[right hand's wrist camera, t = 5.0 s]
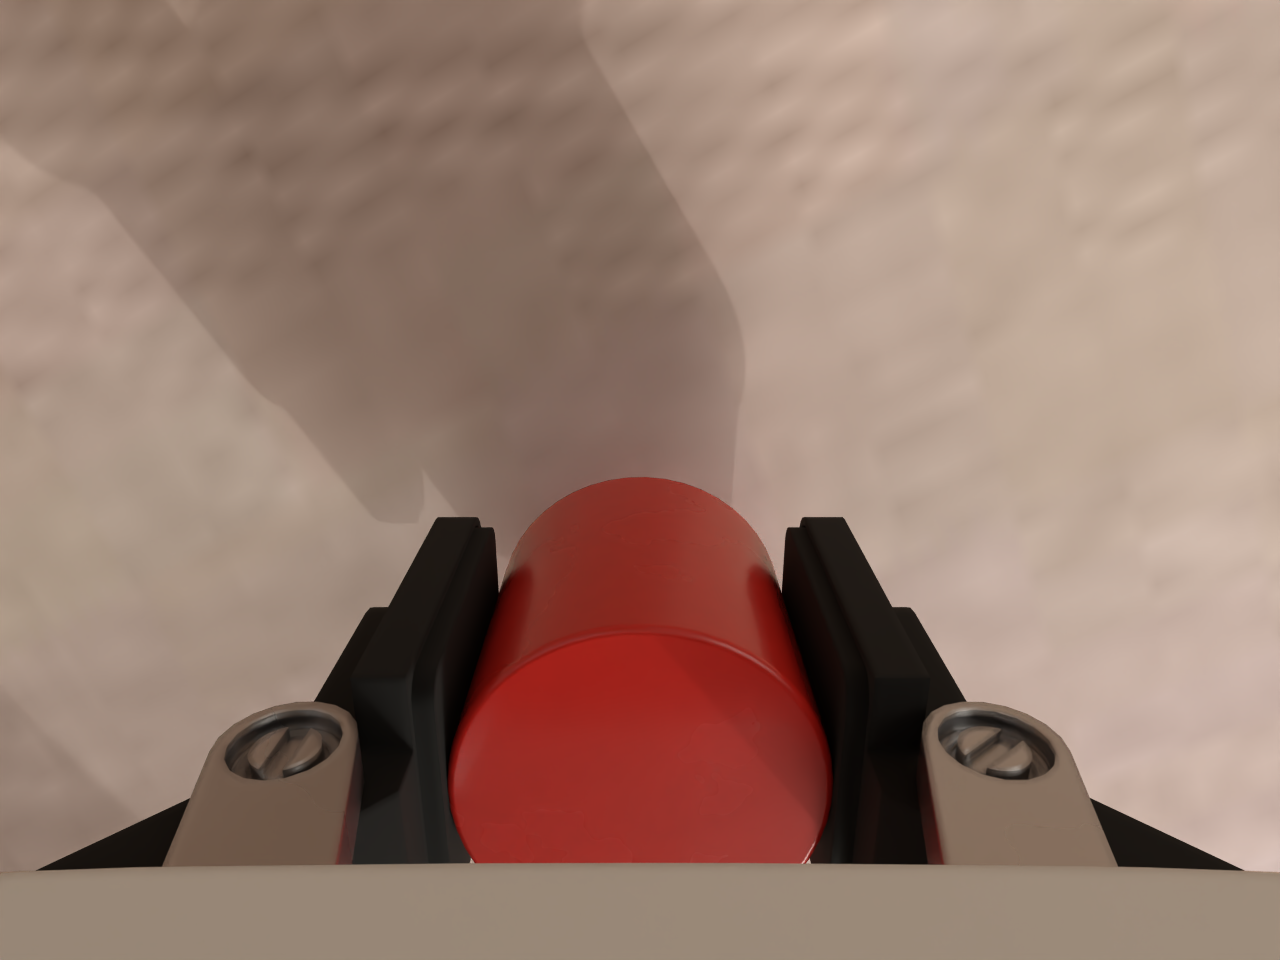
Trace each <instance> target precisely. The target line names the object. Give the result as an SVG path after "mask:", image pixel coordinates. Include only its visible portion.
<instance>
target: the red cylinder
mask: <svg viewBox="0 0 1280 960" xmlns="http://www.w3.org/2000/svg"><path fill="white" fill-rule="evenodd" d="M447 774H448V794H449V803H450V809H451V813H452V816H453V820H454V823H455V826H456V830H457V832H458V834H459V836H460V838H461V840H462V843H463V845H464V847H465V849H466V850H467V852H468V853H469V855H470V856H471V858H472V859H473V861H474V863H789V864H806V862H807V861H808V860H809V858H810V857H811V855H812V853H813V851H814V850H815V848H816V846H817V844H818V843H819V841H820V838H821V836H822V833H823V831H824V828H825V826H826V823H827V820H828V817H829V812H830V807H831V802H832V790H833V761H832V755H831V751H830V747H829V743H828V739H827V736H826V733H825V729H824V726H823V723H822V720H821V717H820V714H819V710H818V707H817V704H816V701H815V698H814V695H813V691H812V688H811V685H810V682H809V679H808V675H807V672H806V669H805V666H804V663H803V660H802V656H801V653H800V650H799V647H798V644H797V641H796V637H795V634H794V631H793V628H792V625H791V622H790V618H789V615H788V612H787V609H786V606H785V603H784V599H783V596H782V593H781V590H780V587H779V584H778V580H777V577H776V574H775V571H774V568H773V564H772V562H771V560H770V557H769V555H768V553H767V550H766V548H765V546H764V545H763V543H762V541H761V540H760V538H759V537H758V535H757V533H756V532H755V531H754V530H753V529H752V527H751V526H750V525H749V524H748V523H747V521H746V520H745V519H744V518H743V517H741V516H740V515H739V514H738V513H737V512H736V511H735V510H734V509H733V508H731V507H730V506H728V505H727V504H725V503H724V502H723V501H721V500H720V499H718V498H717V497H715V496H713V495H711V494H709V493H707V492H705V491H703V490H701V489H698V488H695V487H693V486H690V485H687V484H684V483H680V482H676V481H672V480H667V479H659V478H649V477H632V478H621V479H614V480H608V481H604V482H601V483H597V484H593V485H590V486H588V487H585V488H583V489H580V490H578V491H576V492H573V493H571V494H570V495H568V496H566V497H564V498H563V499H561V500H559V501H558V502H556V503H555V504H554V505H552V506H551V507H550V508H548V509H547V510H546V511H544V512H543V513H542V514H541V515H540V516H539V517H538V518H537V519H536V520H535V521H534V522H533V523H532V524H531V525H530V527H529V528H528V529H527V531H526V532H525V533H524V535H523V536H522V537H521V539H520V540H519V542H518V544H517V546H516V548H515V550H514V551H513V553H512V556H511V559H510V561H509V564H508V567H507V569H506V573H505V576H504V579H503V582H502V585H501V589H500V592H499V595H498V598H497V601H496V605H495V608H494V611H493V614H492V617H491V620H490V624H489V627H488V630H487V633H486V636H485V640H484V643H483V646H482V649H481V652H480V656H479V659H478V662H477V665H476V668H475V672H474V675H473V678H472V681H471V684H470V688H469V691H468V694H467V697H466V700H465V704H464V707H463V710H462V713H461V716H460V720H459V723H458V726H457V729H456V732H455V735H454V739H453V742H452V746H451V751H450V756H449V761H448V769H447Z"/></svg>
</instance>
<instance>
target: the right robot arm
mask: <svg viewBox="0 0 1280 960" xmlns="http://www.w3.org/2000/svg"><path fill="white" fill-rule="evenodd" d="M498 595H499V590H498V574H497V558H496V543H495V533H494V529H493V528H481V525H480V521H479V519H478V518H477V517H438V518H437V519H436V520H435V522H434V524H433V526H432V528H431V529H430V531H429V533H428V535H427V537H426V539H425V540H424V542H423V544H422V546H421V548H420V550H419V551H418V553H417V555H416V557H415V559H414V561H413V563H412V564H411V566H410V568H409V570H408V572H407V574H406V575H405V577H404V579H403V581H402V583H401V585H400V587H399V588H398V590H397V592H396V594H395V596H394V598H393V599H392V601H391V603H390V605H389V607H373V608H370V609H369V610H368V611H367V612H366V613H365V615H364V617H363V618H362V620H361V622H360V624H359V625H358V627H357V629H356V630H355V632H354V634H353V636H352V637H351V639H350V641H349V642H348V644H347V646H346V648H345V649H344V651H343V653H342V654H341V656H340V658H339V660H338V661H337V663H336V665H335V666H334V668H333V670H332V672H331V673H330V675H329V677H328V678H327V680H326V682H325V684H324V685H323V687H322V689H321V690H320V692H319V694H318V696H317V697H316V699H315V701H314V702H295V703H289V704H284V705H279V706H274V707H271V708H268V709H266V710H263V711H260V712H257V713H254V714H252V715H250V716H248V717H247V718H245V719H243V720H241V721H239V722H238V723H236V724H234V725H233V726H232V727H230V728H229V729H228V730H227V731H226V732H225V733H223V734H222V735H221V736H220V737H219V738H218V739H217V741H216V742H215V744H214V745H213V747H212V748H211V750H210V752H209V754H208V756H207V759H206V761H205V764H204V766H203V768H202V771H201V773H200V776H199V778H198V781H197V783H196V785H195V788H194V790H193V793H192V795H191V798H189V799H187V800H185V801H183V802H181V803H179V804H177V805H175V806H172V807H170V808H168V809H166V810H164V811H162V812H160V813H158V814H155V815H153V816H151V817H149V818H147V819H145V820H143V821H140V822H138V823H136V824H134V825H132V826H130V827H128V828H126V829H123V830H121V831H119V832H117V833H115V834H113V835H111V836H109V837H106V838H104V839H102V840H100V841H98V842H96V843H94V844H91V845H89V846H87V847H85V848H83V849H81V850H79V851H77V852H74V853H72V854H70V855H68V856H66V857H64V858H62V859H60V860H57V861H55V862H53V863H51V864H49V865H47V866H45V867H42V868H40V869H38V870H36V871H19V872H0V960H1280V872H1261V871H1244V870H1242V869H1240V868H1238V867H1236V866H1234V865H1232V864H1229V863H1227V862H1225V861H1223V860H1221V859H1219V858H1217V857H1215V856H1212V855H1210V854H1208V853H1206V852H1204V851H1202V850H1200V849H1197V848H1195V847H1193V846H1191V845H1189V844H1187V843H1185V842H1183V841H1180V840H1178V839H1176V838H1174V837H1172V836H1170V835H1168V834H1166V833H1163V832H1161V831H1159V830H1157V829H1155V828H1153V827H1151V826H1149V825H1146V824H1144V823H1142V822H1140V821H1138V820H1136V819H1134V818H1131V817H1129V816H1127V815H1125V814H1123V813H1121V812H1119V811H1117V810H1114V809H1112V808H1110V807H1108V806H1106V805H1104V804H1102V803H1100V802H1097V801H1095V800H1093V799H1091V798H1089V795H1088V793H1087V790H1086V788H1085V785H1084V783H1083V781H1082V778H1081V776H1080V773H1079V771H1078V768H1077V766H1076V764H1075V761H1074V759H1073V756H1072V754H1071V752H1070V750H1069V748H1068V747H1067V745H1066V744H1065V742H1064V741H1063V739H1062V738H1061V737H1060V736H1059V735H1058V734H1057V733H1055V732H1054V731H1053V730H1052V729H1051V728H1050V727H1048V726H1047V725H1046V724H1044V723H1042V722H1041V721H1039V720H1037V719H1035V718H1033V717H1032V716H1030V715H1028V714H1026V713H1023V712H1020V711H1017V710H1014V709H1012V708H1009V707H1006V706H1001V705H996V704H991V703H985V702H966V700H965V698H964V696H963V695H962V693H961V691H960V690H959V688H958V686H957V684H956V683H955V681H954V679H953V678H952V676H951V674H950V672H949V671H948V669H947V667H946V666H945V664H944V662H943V660H942V659H941V657H940V655H939V654H938V652H937V650H936V648H935V647H934V645H933V643H932V642H931V640H930V638H929V636H928V635H927V633H926V631H925V630H924V628H923V626H922V624H921V623H920V621H919V619H918V618H917V616H916V614H915V613H914V611H913V610H912V609H911V608H908V607H892V606H891V604H890V602H889V600H888V598H887V597H886V595H885V593H884V591H883V589H882V587H881V586H880V584H879V582H878V580H877V578H876V576H875V574H874V573H873V571H872V569H871V567H870V565H869V563H868V562H867V560H866V558H865V556H864V554H863V552H862V550H861V549H860V547H859V545H858V543H857V541H856V539H855V538H854V536H853V534H852V532H851V530H850V528H849V526H848V525H847V523H846V521H845V519H844V518H843V517H804V518H802V520H801V523H800V527H789V528H787V531H786V537H785V551H784V567H783V582H782V596H783V599H784V603H785V606H786V609H787V612H788V615H789V618H790V622H791V625H792V628H793V631H794V634H795V637H796V641H797V644H798V647H799V650H800V653H801V656H802V660H803V663H804V666H805V669H806V672H807V675H808V679H809V682H810V685H811V688H812V691H813V695H814V698H815V701H816V704H817V707H818V710H819V714H820V717H821V720H822V723H823V726H824V729H825V733H826V736H827V739H828V743H829V747H830V751H831V755H832V761H833V790H832V802H831V807H830V812H829V817H828V820H827V823H826V826H825V828H824V831H823V833H822V836H821V838H820V841H819V843H818V844H817V846H816V848H815V850H814V851H813V853H812V855H811V857H810V861H811V864H789V863H470V859H471V856H470V855H469V853H468V852H467V850H466V849H465V847H464V845H463V843H462V840H461V838H460V836H459V834H458V832H457V830H456V826H455V823H454V820H453V816H452V813H451V809H450V803H449V794H448V774H447V769H448V761H449V756H450V751H451V746H452V742H453V739H454V735H455V732H456V729H457V726H458V723H459V720H460V716H461V713H462V710H463V707H464V704H465V700H466V697H467V694H468V691H469V688H470V684H471V681H472V678H473V675H474V672H475V668H476V665H477V662H478V659H479V656H480V652H481V649H482V646H483V643H484V640H485V636H486V633H487V630H488V627H489V624H490V620H491V617H492V614H493V611H494V608H495V605H496V601H497V598H498Z"/></svg>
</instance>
